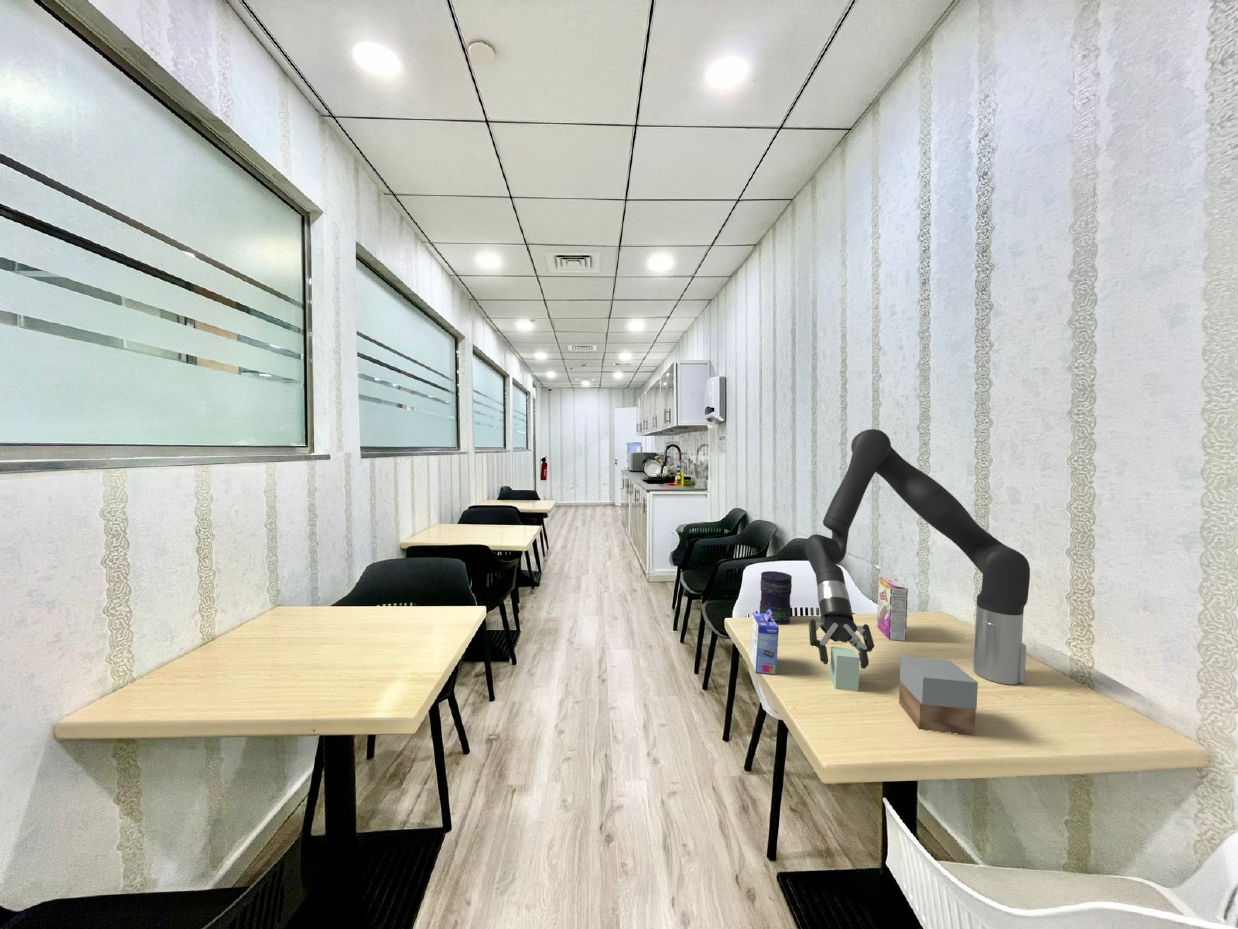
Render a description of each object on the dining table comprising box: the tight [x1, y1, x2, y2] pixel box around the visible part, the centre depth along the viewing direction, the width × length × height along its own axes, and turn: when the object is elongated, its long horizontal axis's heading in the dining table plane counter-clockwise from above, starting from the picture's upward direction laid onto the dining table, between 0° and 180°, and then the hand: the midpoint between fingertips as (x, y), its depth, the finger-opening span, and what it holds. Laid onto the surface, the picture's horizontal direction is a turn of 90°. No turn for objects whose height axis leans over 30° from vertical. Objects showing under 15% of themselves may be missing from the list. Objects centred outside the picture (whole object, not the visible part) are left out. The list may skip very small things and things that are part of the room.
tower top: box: [899, 655, 979, 710], centre depth 98 cm, size 10×10×6 cm
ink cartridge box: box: [748, 609, 780, 675], centre depth 121 cm, size 10×6×14 cm, turn 174°
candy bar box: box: [876, 576, 909, 642], centre depth 145 cm, size 11×5×16 cm, turn 168°
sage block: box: [829, 646, 861, 692], centre depth 112 cm, size 5×5×8 cm
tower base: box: [898, 680, 977, 737], centre depth 98 cm, size 10×10×6 cm
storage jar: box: [759, 570, 793, 626], centre depth 155 cm, size 10×10×15 cm
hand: (845, 665), depth 111 cm, fingers open, 8 cm apart
